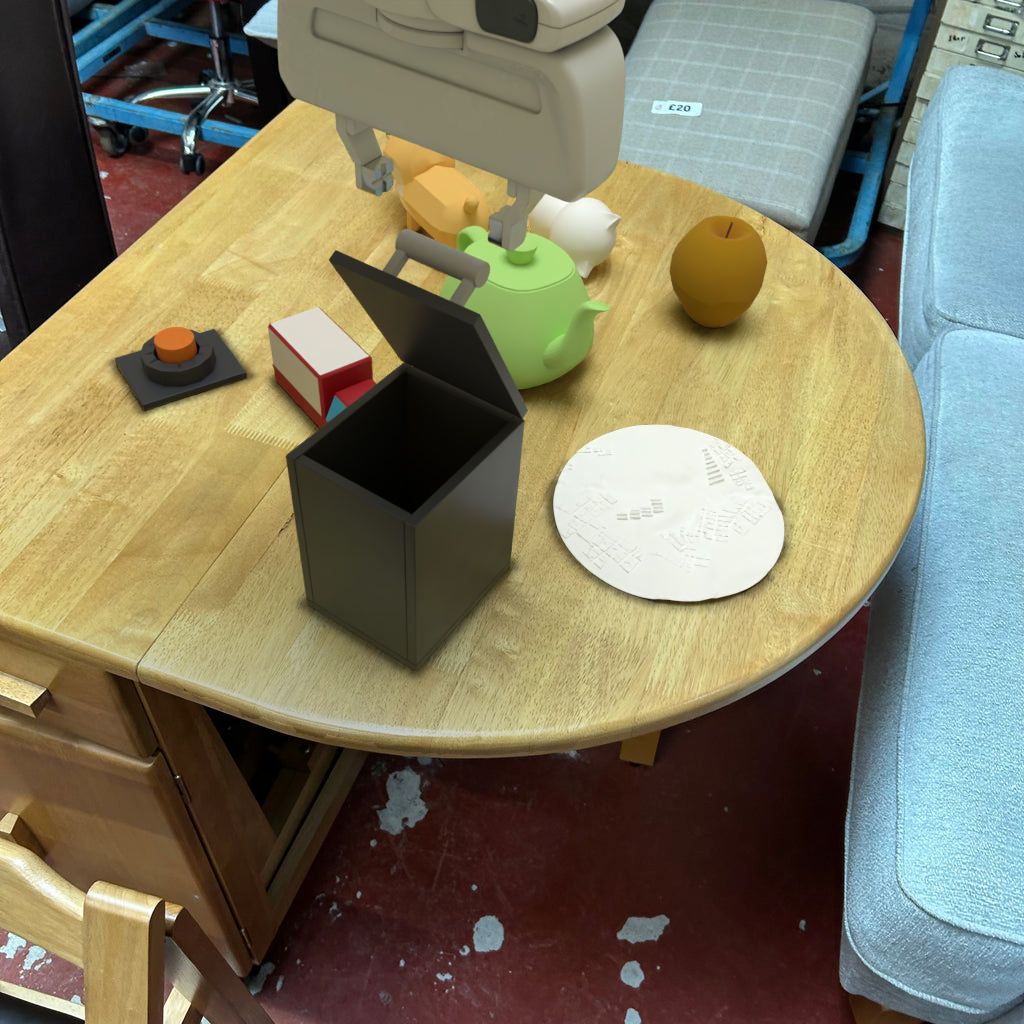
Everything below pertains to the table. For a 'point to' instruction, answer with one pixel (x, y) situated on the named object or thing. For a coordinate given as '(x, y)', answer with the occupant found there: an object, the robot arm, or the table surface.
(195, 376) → the box
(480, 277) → the storage box lid
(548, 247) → the teapot
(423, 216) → the dog
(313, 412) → the toy truck
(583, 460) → the plaque
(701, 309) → the apple
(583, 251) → the cat figurine
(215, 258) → the table surface
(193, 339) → the button
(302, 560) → the lidded storage box
